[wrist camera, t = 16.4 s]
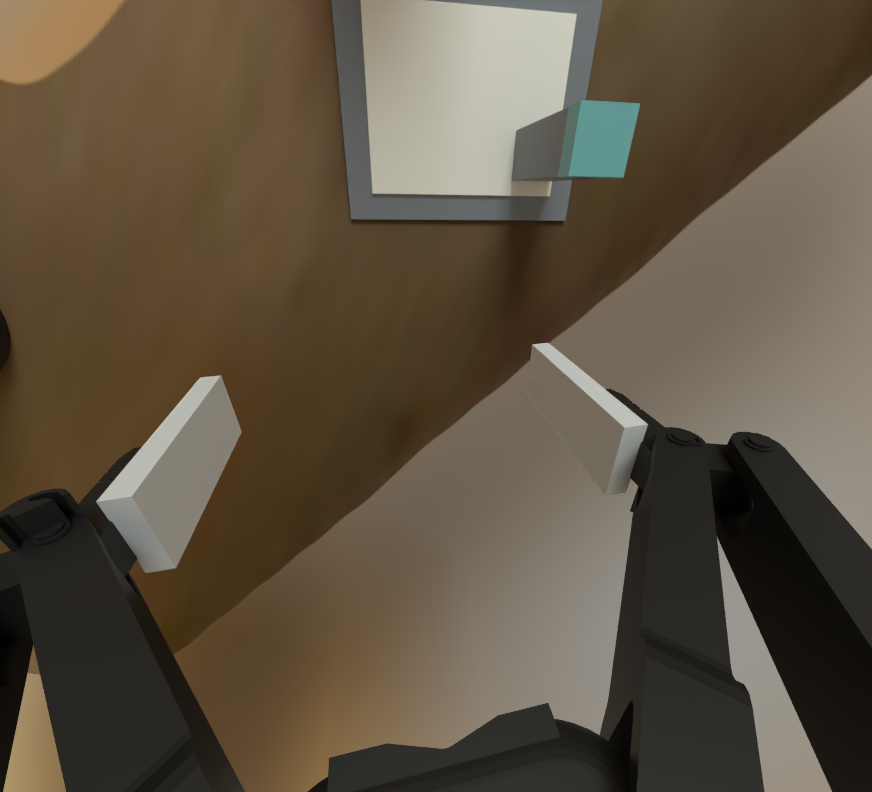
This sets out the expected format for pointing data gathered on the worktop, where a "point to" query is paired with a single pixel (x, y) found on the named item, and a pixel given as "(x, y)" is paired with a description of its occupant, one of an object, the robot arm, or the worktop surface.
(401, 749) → the robot arm
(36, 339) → the worktop surface
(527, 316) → the worktop surface
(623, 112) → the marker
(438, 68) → the paper
